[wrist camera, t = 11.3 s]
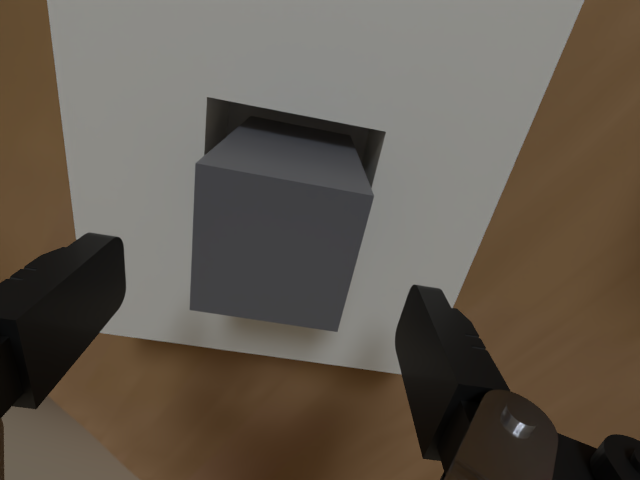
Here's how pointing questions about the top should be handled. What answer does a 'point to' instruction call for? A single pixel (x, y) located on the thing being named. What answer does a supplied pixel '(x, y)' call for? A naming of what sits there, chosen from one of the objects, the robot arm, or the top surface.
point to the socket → (305, 110)
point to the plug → (278, 224)
